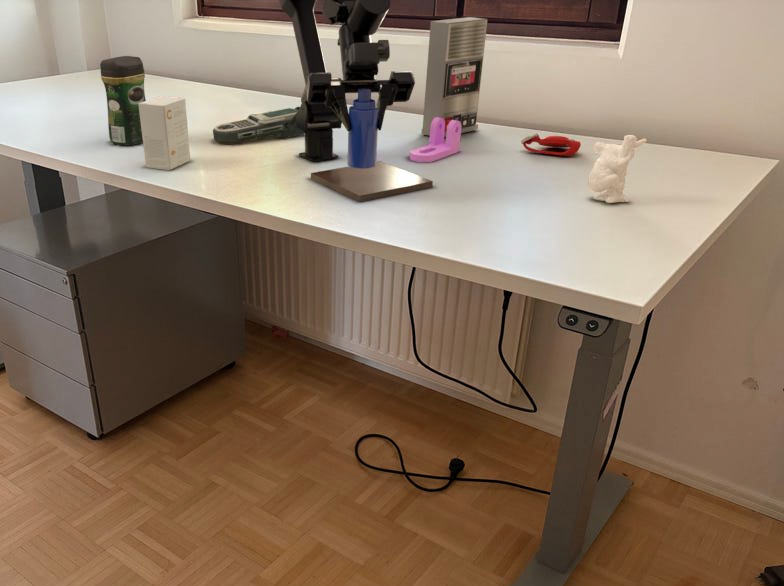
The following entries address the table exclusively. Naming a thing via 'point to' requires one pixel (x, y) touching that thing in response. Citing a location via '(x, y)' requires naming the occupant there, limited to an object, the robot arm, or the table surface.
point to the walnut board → (371, 181)
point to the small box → (164, 132)
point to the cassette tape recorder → (454, 72)
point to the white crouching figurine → (612, 169)
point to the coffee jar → (124, 98)
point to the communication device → (259, 127)
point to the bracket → (439, 141)
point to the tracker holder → (553, 144)
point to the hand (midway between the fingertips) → (364, 129)
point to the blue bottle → (363, 131)
